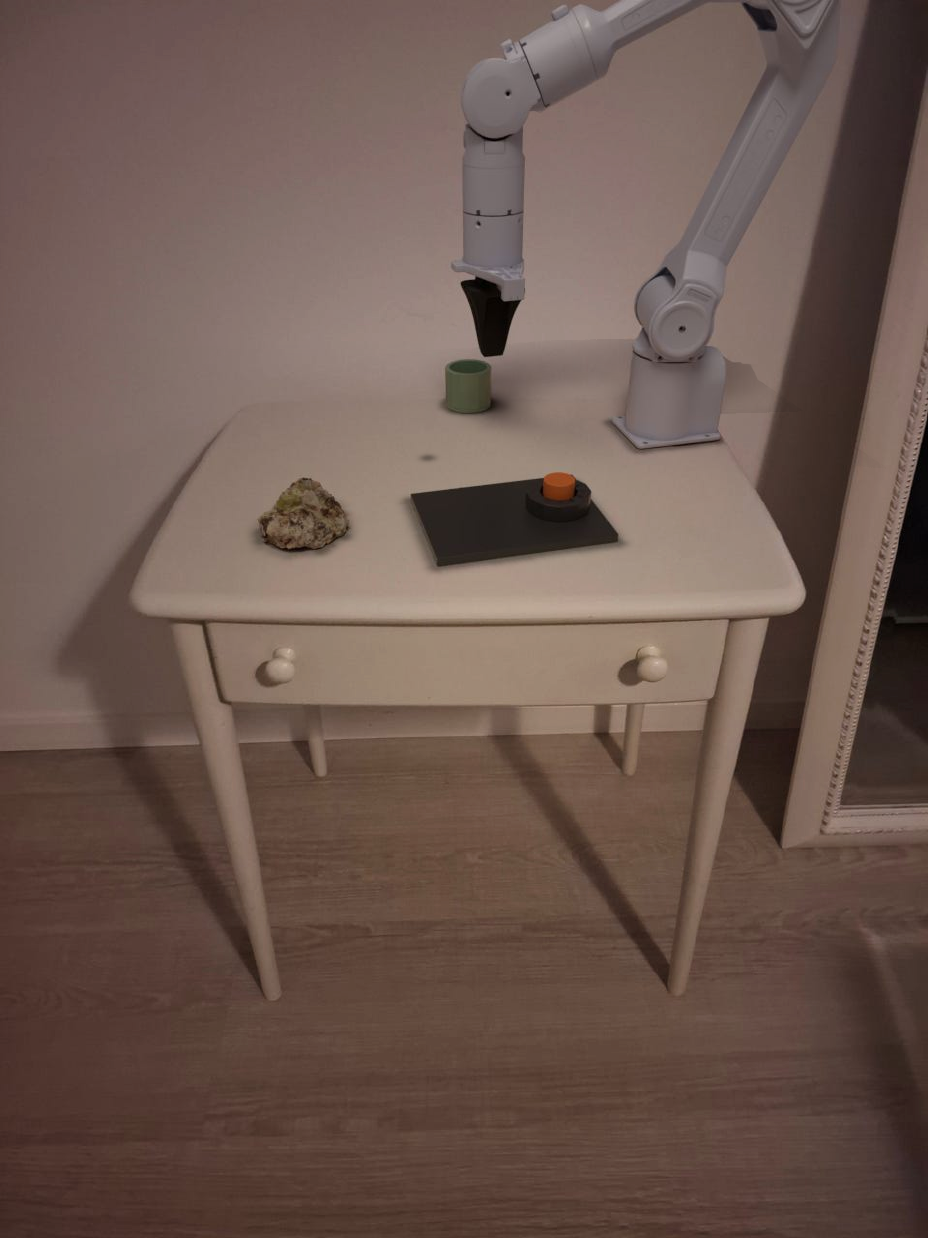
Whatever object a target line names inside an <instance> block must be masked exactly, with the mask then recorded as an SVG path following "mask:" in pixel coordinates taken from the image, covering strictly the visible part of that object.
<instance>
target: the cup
mask: <svg viewBox="0 0 928 1238" xmlns="http://www.w3.org/2000/svg"><path fill="white" fill-rule="evenodd" d="M444 383H445V384H444V385H445V405H446V407H447V409H448V410H450V411H452V412H454V413H455V412H456V413H460V414H474V413H475V414H477V413H481V412H484V411H486V410H488V409H489V408H490V407H491V405H492V365H491V364H490V363H489V362H487V361H484V360H480V359H470V358H464V359H457V360H453V361H450V362H448V363H447V364H446V365H445V367H444Z"/></svg>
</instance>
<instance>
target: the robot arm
mask: <svg viewBox="0 0 928 1238" xmlns="http://www.w3.org/2000/svg"><path fill="white" fill-rule="evenodd" d="M712 3H713V4H714V3H715V4H716V3H717V4H719V3H720V4H722V3H724V4H725V3H732V4H733V3H734V4H740V5H741V7H742V8H743V9H744V11H745V12H746V14H748V16H749V17H750V19H751V20H752V22H753V23H754V24H755V26H756V29H757V32H758V37H759V40H760V43H761V47H762V50H763V53H764V58H765V60H766V68H765V70H764V71H763V73H762V75H761V77H760V80H759V82H758V84H757V85H756V87H755V90H754V91H753V93H752V94H751V95H752V96H751V97H750V99H749V102H748V103H747V105H746V107H745V109H744V112H743V113H742V115H741V118H740V120H739V121H738V124H737V126H736V128H735V129H734V131H733V134H732V136H731V138H730V139H729V141H728V144H727V145H726V147H725V150H724V151H723V153H722V156H721V158H720V160H719V162H718V164H717V166H716V168H715V169H714V172H713V174H712V176H711V177H710V180H709V182H708V184H707V186H706V188H705V190H704V192H703V194H702V196H701V198H700V201H699V202H698V204H697V206H696V208H695V209H694V212H693V214H692V216H691V218H690V220H689V222H688V224H687V226H686V228H685V230H684V232H683V234H682V237H681V238H680V240H679V242H678V243H676V245H674V246H673V248H671V249H670V251H669V252H667V253H666V255H665V256H664V257H663V259H662V262H661V264H660V265H659V267H658V268H657V270H656V271H655V272H654V273H653V274H652V275H651V276H649V278H647V279H645V281H643V283H642V284H641V285H640V286H639V289H638V290H637V292H636V294H635V298H634V303H633V311H634V316H635V319H636V320H637V322H638V323H639V325H640V326H641V330H640V331H639V333H638V335H637V337H636V338H635V340H634V341H633V343H632V351H631V360H630V370H629V380H628V390H627V401H626V407H625V408H626V410H625V414H624V415H615V416H612V417H611V419H610V421H611V423H612V424H613V425H614V426H615V427H616V428H617V429H618V430H619V431H620V432H621V433H622V435H624V436H625V437H626V438H627V439H628V440H629V441H630V442H631V443H632V444H633V445H634V446H635V448H637V449H641V450H643V449H652V448H661V447H669V446H679V445H686V444H695V443H703V442H711V441H712V442H713V441H719V440H720V439H721V434H720V433H719V432H718V430H719V425H720V419H721V413H722V409H723V408H722V407H723V403H724V396H725V390H726V383H727V366H726V361H725V357H724V355H723V353H722V352H721V350H719V348H717V346H713V345H708V343H709V342H710V341H711V338H712V336H713V333H714V330H715V316H716V312H717V308H718V306H719V304H720V302H721V300H722V298H723V296H724V293H725V285H726V275H727V270H728V269H727V268H728V266H729V263H730V262H731V260H732V258H733V256H734V255H735V253H736V251H737V249H738V247H739V245H740V243H741V241H742V239H743V237H744V236H745V234H746V232H747V231H748V228H749V226H750V225H751V223H752V221H753V219H754V218H755V215H756V213H757V211H758V209H759V208H760V206H761V204H762V202H763V200H764V198H765V196H766V195H767V193H768V191H769V189H770V187H771V185H772V183H773V182H774V179H775V178H776V176H777V175H778V172H779V170H780V168H781V166H783V162H784V161H785V159H786V158H787V155H788V153H789V152H790V150H791V148H792V146H793V144H794V142H795V140H796V139H797V137H798V135H799V133H800V131H801V129H802V127H803V125H804V123H805V122H806V120H807V118H808V116H809V114H810V113H811V111H812V109H813V107H814V105H815V103H816V101H817V99H818V97H819V96H820V93H821V92H822V91H823V88H824V86H825V84H826V82H828V81H827V80H828V79H829V77H830V75H831V73H832V71H833V69H834V66H835V63H836V61H837V57H838V47H839V46H838V45H839V33H840V20H841V10H842V9H841V8H842V0H618V1H616V2H615V3H613V4H612V5H610V6H609V7H607V8H605V9H604V10H602V11H600V10H596V9H594V8H592V7H590V6H588V5H586V4H583V3H582V4H581V3H580V4H577V5H575V6H574V7H572V8H570V9H569V8H568V5H567V4H562V5H560V6H558V7H557V8H555V9H553V10H551V12H550V15H551V18H552V20H550V21H549V22H547V23H545V24H544V25H542V26H540V27H539V28H537V29H535V30H534V31H532V32H531V33H528V34H527V35H525V36H523V37H522V38H520V39H519V40H516V41H515V42H513V41H512V39H511V38H508V39H506V40H505V41H503V42H501V43H500V44H499V47H500V49H501V52H502V54H503V55H502V56H503V57H504V58H501V57H500V58H499V57H488V58H484V59H483V60H479V62H477V63H475V64H474V65H473V66H472V67H471V68H470V70H469V71H468V72H467V74H466V76H465V78H464V80H463V83H462V88H461V93H460V95H459V101H460V106H461V110H462V113H463V116H464V118H465V121H466V123H465V126H464V127H465V129H464V131H463V134H462V141H463V142H462V145H463V148H464V149H465V150H464V153H463V155H462V158H461V164H462V165H461V166H462V167H461V169H462V170H461V171H462V176H461V177H462V179H461V180H462V257H461V258H460V259H454V260H451V261H450V266H451V267H450V269H451V270H452V271H454V272H455V273H466V274H468V275H471V276H474V279H465V280H461V281H460V287H461V289H462V291H463V293H464V295H465V298H466V300H467V302H468V305H469V309H470V312H471V316H472V319H473V323H474V330H475V334H476V340H477V344H478V349H479V352H480V354H481V355H482V357H483V358H491V357H500V356H501V357H502V356H504V353H505V351H506V346H507V342H508V337H509V334H510V329H511V325H512V322H513V319H514V316H515V314H516V311H517V310H518V307H519V306H520V304H521V302H522V301H524V300H525V294H526V278H525V277H524V270H525V259H524V258H523V252H524V251H523V250H524V249H523V248H524V247H523V246H524V245H523V244H524V210H525V208H524V207H525V206H524V205H525V172H526V171H525V169H526V156H525V154H524V153H523V147H524V146H523V143H524V125H525V123H526V122H527V119H528V117H529V114H530V112H537V113H540V114H541V113H543V112H545V110H548V109H550V108H551V107H554V106H555V105H557V104H559V103H560V102H562V101H563V100H566V99H568V98H569V97H571V96H573V95H575V94H576V93H578V92H580V91H582V90H583V89H585V88H587V87H589V86H591V85H592V84H594V83H596V82H597V81H599V80H601V79H603V78H605V77H606V76H607V73H608V72H609V68H610V65H611V62H612V59H613V57H614V56H615V53H616V52H617V51H618V50H620V49H622V48H624V47H626V46H628V45H630V44H631V43H634V42H635V41H637V40H639V39H641V38H643V37H645V36H647V35H649V34H651V33H653V32H654V31H656V30H658V29H660V28H662V27H664V26H666V25H668V24H670V23H671V22H673V21H675V20H677V19H679V18H681V17H682V16H684V15H686V14H687V15H688V13H691V12H692V11H695V10H697V9H698V8H699V7H702V6H704V5H706V4H712Z"/></svg>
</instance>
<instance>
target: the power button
mask: <svg viewBox="0 0 928 1238" xmlns="http://www.w3.org/2000/svg"><path fill="white" fill-rule="evenodd" d="M572 475H573V474H572ZM572 475H570V473H567V472H561V471H559V472H550V473H548V474H546V475H545V476H544V477H543V478H544V481H543V496H544V497H546V498H549V499H553V500H567V499H571V498H573V496H574V490H575V479H576V477H575V476H574V475H573V476H574V477H575V478H574V477H573V476H572Z"/></svg>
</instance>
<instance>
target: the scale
mask: <svg viewBox="0 0 928 1238" xmlns="http://www.w3.org/2000/svg"><path fill="white" fill-rule="evenodd" d="M569 474H570V473H569ZM570 475H572V476H573V477H574V478H575V490H574V496H573V498H571V499H567V500H553V499H549V498H546V497H544V496H543V481H544V477H538V478H530V479H529V478H528V479H522V480H513V481H505V482H497V483H488V484H480V485H471V486H465V487H464V486H463V487H456V488H447V489H438V490H432V491H431V490H429V491H423V492H415V493H414V492H413V493H410V503H411V505H412V509H413V511H414V513H415V515H416V518H417V520H418V523H419V526H420V528H421V530H422V533H423V536H424V537H425V540H426V542H427V545H428V547H429V551H430V553H431V555H432V557H433V560H434V562H435V565H436V567H437V568H439V567H446V566H447V567H448V566H454V565H461V564H469V563H476V562H483V561H491V560H497V559H505V558H513V557H519V556H520V557H521V556H528V555H535V554H542V553H549V552H555V551H565V550H572V549H578V548H579V549H580V548H584V547H593V546H601V545H607V544H614V543H615V544H616V543H618V542H619V541H618V540H619V532H617V530H616V529H615V528H614V526H613V525H612V524H611V522H610V521H609V519H607V517H606V516H605V514H604V513H603V512H602V511H601V510H600V508H599V507H598V506H597V504H596V503H595V502H594V501H593V499H592V490H591V488H590V487H589V486H588V484H586V483H585V482H582V481H580V480H578V479H577V478H576V477H575V475H573V474H572V473H571V474H570Z"/></svg>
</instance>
